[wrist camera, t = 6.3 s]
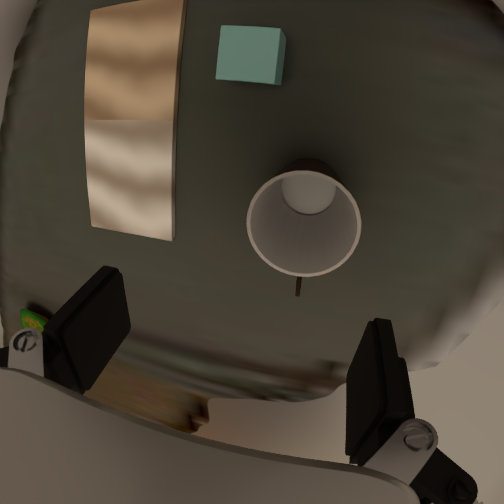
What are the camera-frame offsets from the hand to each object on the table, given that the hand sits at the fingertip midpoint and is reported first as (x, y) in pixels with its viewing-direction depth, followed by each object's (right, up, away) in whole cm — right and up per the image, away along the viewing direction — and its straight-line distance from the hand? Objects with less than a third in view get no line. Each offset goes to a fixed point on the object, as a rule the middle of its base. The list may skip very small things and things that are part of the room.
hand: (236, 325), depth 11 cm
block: (+1, +21, +16) cm, 26 cm away
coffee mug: (+6, +8, +22) cm, 24 cm away
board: (-13, +18, +21) cm, 30 cm away
